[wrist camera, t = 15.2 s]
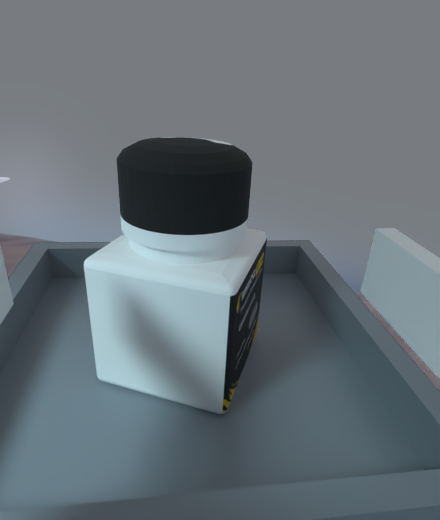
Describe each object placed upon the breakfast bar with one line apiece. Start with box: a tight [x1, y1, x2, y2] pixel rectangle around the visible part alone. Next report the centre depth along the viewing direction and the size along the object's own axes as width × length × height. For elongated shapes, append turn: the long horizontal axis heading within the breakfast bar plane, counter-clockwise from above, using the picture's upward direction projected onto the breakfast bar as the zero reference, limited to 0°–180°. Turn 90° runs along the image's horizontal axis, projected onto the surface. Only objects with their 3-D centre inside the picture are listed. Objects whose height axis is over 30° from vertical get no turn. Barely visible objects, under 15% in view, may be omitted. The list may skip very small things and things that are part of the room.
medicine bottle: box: [84, 137, 267, 414], centre depth 20 cm, size 7×7×12 cm
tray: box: [0, 240, 440, 520], centre depth 22 cm, size 22×22×4 cm
